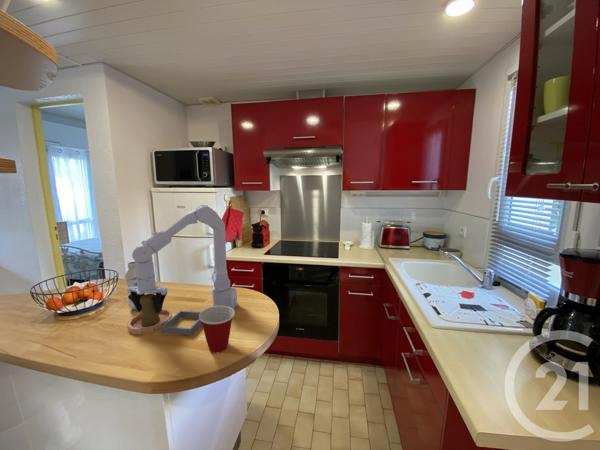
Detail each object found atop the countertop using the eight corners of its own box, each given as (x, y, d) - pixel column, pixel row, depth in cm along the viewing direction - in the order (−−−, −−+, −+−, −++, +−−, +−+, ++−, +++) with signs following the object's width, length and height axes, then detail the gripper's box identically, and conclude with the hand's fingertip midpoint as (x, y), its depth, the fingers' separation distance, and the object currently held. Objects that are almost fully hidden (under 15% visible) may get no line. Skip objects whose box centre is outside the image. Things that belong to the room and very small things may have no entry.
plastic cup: (237, 354, 73) (235, 318, 71) (199, 362, 70) (196, 324, 68) (236, 334, 84) (234, 302, 82) (203, 339, 81) (200, 306, 79)
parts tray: (207, 318, 94) (206, 312, 93) (191, 335, 83) (190, 329, 82) (180, 316, 95) (180, 310, 95) (161, 333, 84) (160, 327, 84)
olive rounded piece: (150, 328, 86) (147, 299, 84) (137, 325, 88) (133, 297, 86) (163, 319, 92) (161, 292, 90) (151, 317, 94) (148, 290, 92)
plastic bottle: (127, 313, 98) (121, 266, 94) (130, 306, 103) (124, 261, 100) (146, 309, 100) (141, 264, 97) (147, 302, 106) (143, 259, 103)
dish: (179, 314, 97) (179, 309, 96) (154, 335, 83) (154, 330, 82) (148, 312, 98) (147, 307, 98) (118, 332, 84) (117, 327, 84)
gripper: (118, 280, 84) (123, 315, 87) (156, 281, 83) (160, 317, 85) (134, 272, 91) (138, 305, 94) (169, 274, 90) (172, 308, 92)
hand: (149, 311), depth 90 cm, fingers open, 7 cm apart
